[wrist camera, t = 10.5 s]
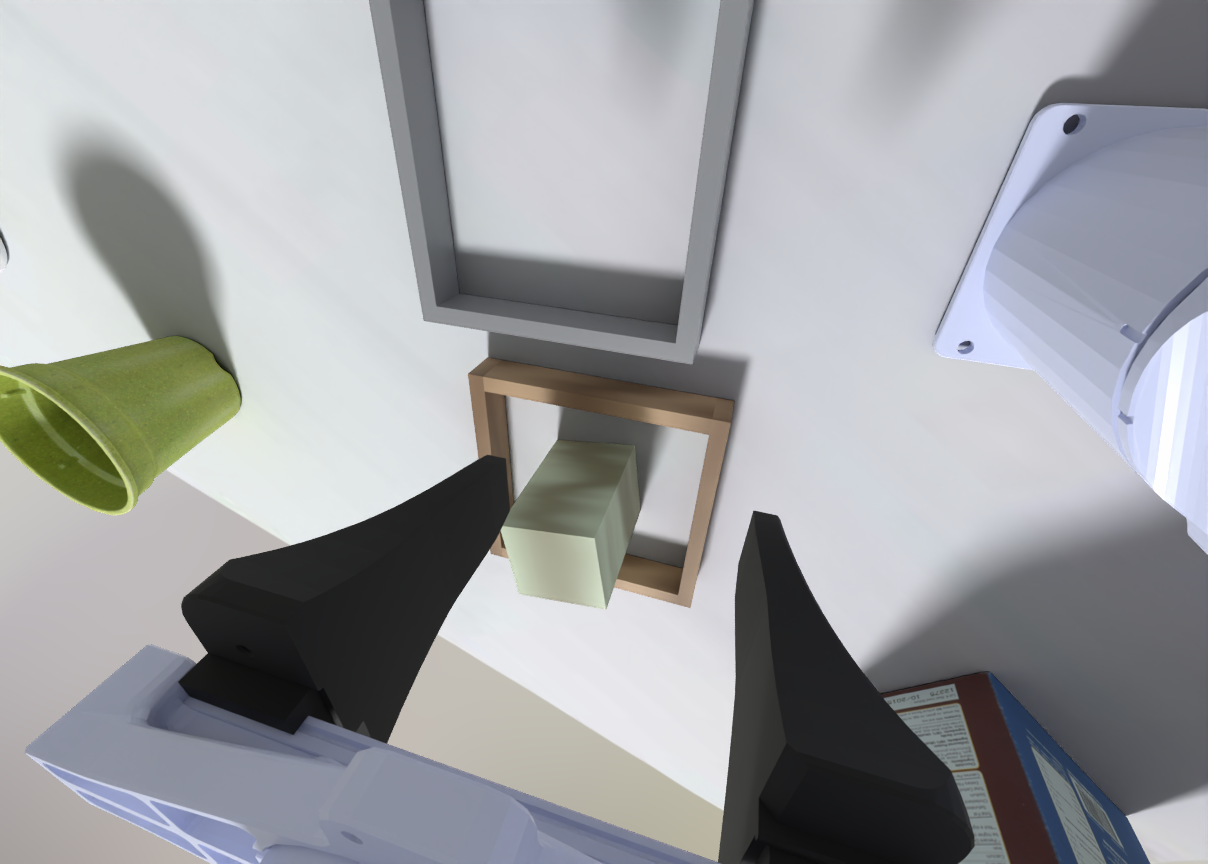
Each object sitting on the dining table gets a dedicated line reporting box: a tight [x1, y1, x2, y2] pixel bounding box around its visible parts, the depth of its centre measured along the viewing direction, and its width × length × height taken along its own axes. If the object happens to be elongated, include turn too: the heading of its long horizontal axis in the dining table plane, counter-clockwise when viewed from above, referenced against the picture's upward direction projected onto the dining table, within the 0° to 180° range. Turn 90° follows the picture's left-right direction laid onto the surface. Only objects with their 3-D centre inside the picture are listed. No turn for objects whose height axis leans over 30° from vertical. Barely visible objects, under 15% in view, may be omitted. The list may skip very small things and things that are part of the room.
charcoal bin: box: [369, 0, 754, 365], centre depth 19 cm, size 13×13×2 cm
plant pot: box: [0, 336, 241, 515], centre depth 30 cm, size 9×9×9 cm
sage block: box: [501, 440, 641, 609], centre depth 25 cm, size 4×4×7 cm
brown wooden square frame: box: [468, 358, 734, 608], centre depth 27 cm, size 13×13×2 cm
